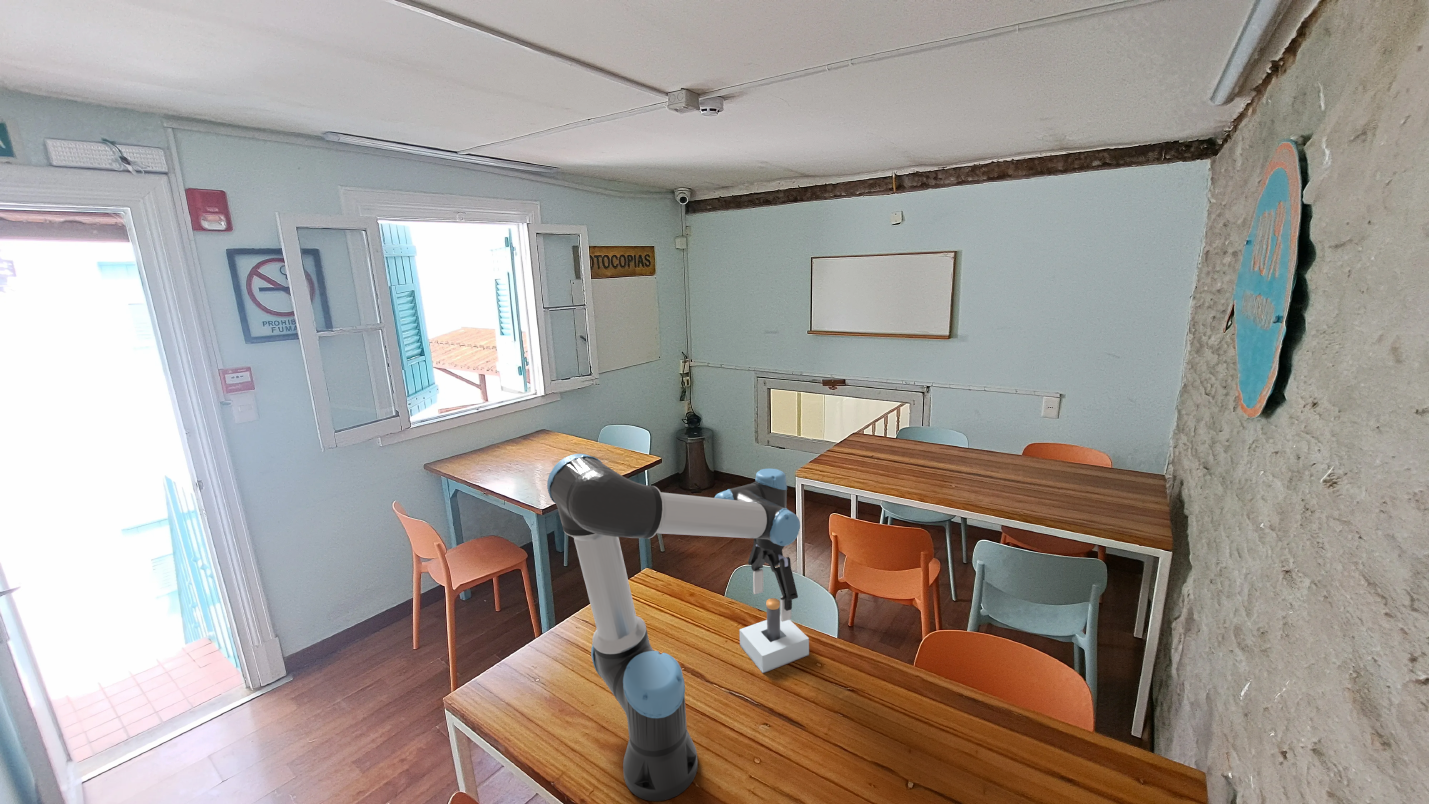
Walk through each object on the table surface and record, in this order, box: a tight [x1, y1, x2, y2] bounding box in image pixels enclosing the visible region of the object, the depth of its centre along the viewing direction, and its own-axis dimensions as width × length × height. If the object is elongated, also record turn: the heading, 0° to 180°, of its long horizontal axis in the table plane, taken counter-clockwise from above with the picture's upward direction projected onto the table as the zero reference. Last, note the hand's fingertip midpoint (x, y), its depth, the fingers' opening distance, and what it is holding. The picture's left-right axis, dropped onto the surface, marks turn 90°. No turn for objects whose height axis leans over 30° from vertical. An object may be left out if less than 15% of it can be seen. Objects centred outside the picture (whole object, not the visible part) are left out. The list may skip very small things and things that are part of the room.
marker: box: [765, 597, 781, 642], centre depth 143 cm, size 4×4×14 cm
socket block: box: [739, 614, 810, 674], centre depth 145 cm, size 12×14×5 cm
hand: (771, 605), depth 142 cm, fingers open, 13 cm apart
